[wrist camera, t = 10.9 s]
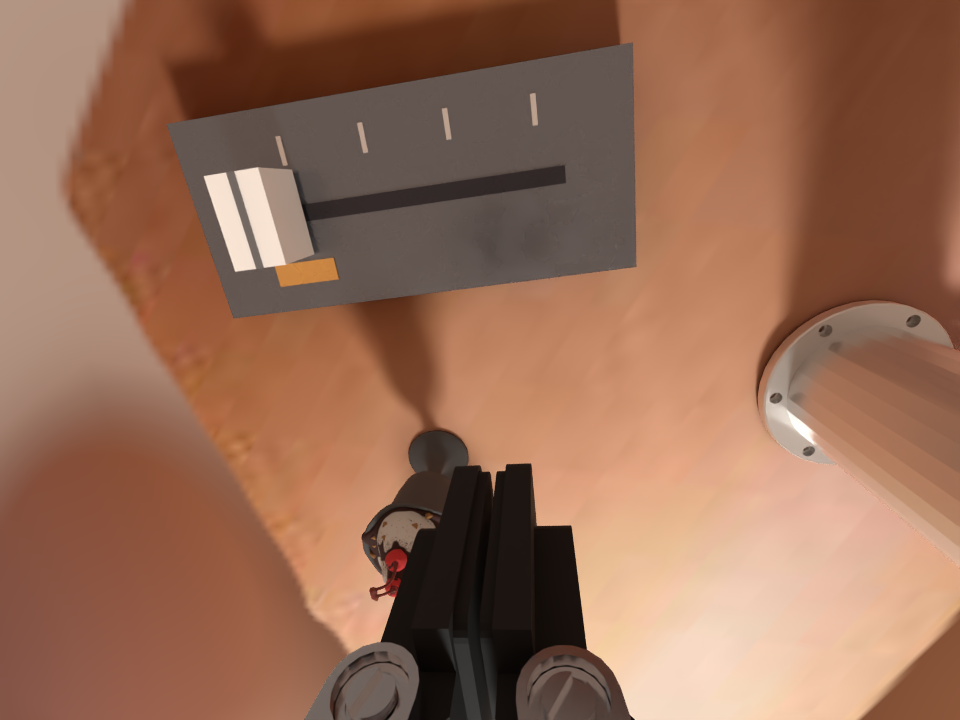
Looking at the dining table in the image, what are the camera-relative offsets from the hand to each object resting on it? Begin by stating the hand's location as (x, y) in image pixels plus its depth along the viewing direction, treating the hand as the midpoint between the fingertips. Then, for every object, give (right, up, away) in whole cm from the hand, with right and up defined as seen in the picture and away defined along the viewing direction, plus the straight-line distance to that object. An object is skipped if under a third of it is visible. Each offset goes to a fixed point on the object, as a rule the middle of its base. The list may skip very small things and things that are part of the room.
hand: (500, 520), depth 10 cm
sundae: (-4, -4, +27) cm, 28 cm away
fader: (-13, +12, +18) cm, 25 cm away
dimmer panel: (-5, +14, +20) cm, 25 cm away
